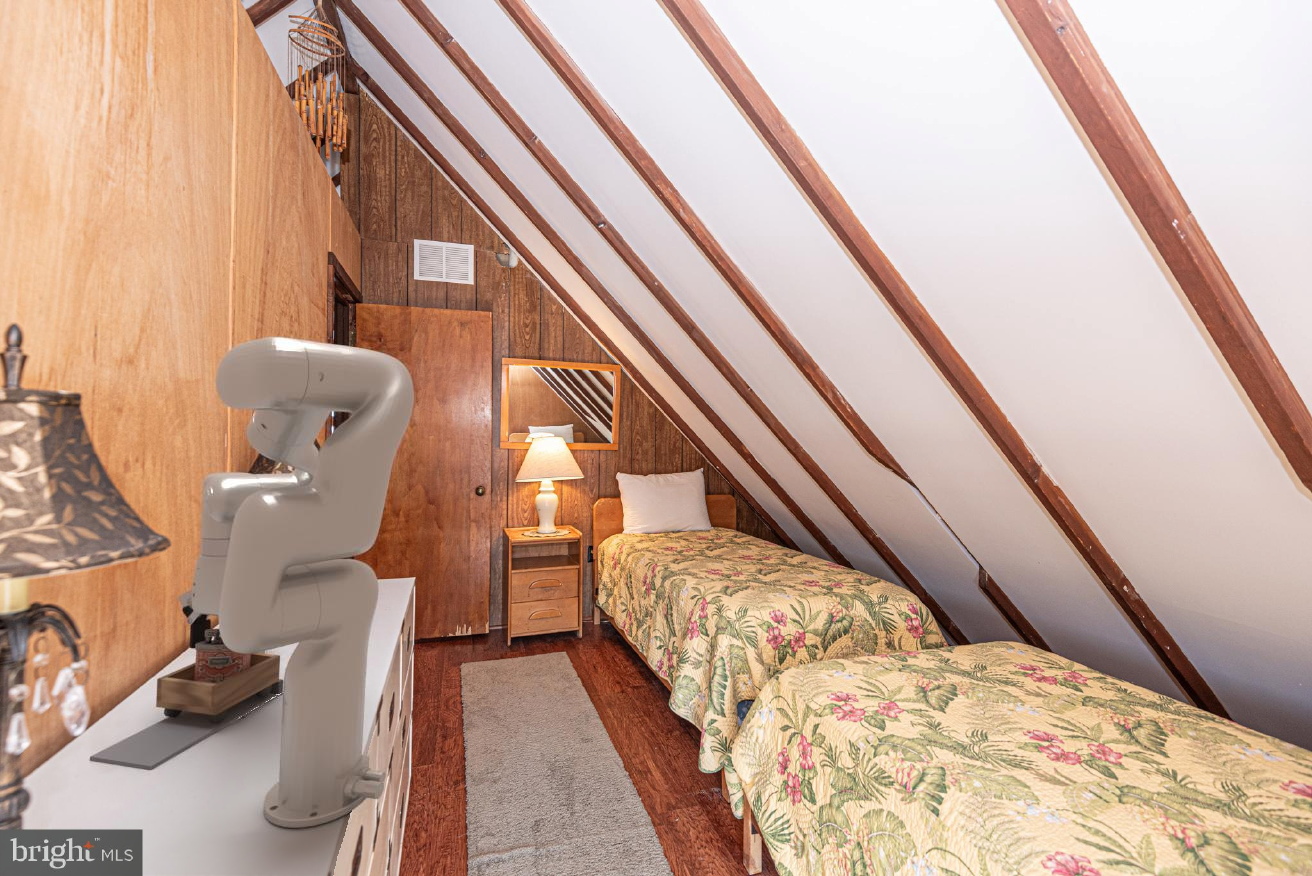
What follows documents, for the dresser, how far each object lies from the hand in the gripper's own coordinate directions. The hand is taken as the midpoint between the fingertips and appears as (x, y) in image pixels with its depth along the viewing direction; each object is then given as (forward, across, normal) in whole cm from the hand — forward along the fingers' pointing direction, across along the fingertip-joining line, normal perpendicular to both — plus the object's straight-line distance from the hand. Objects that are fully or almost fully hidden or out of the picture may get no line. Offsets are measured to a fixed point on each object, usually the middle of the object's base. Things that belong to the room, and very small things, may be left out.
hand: (225, 648), depth 96 cm
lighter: (+7, +1, 0) cm, 7 cm away
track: (+11, +1, +5) cm, 12 cm away
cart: (+11, +1, 0) cm, 11 cm away
